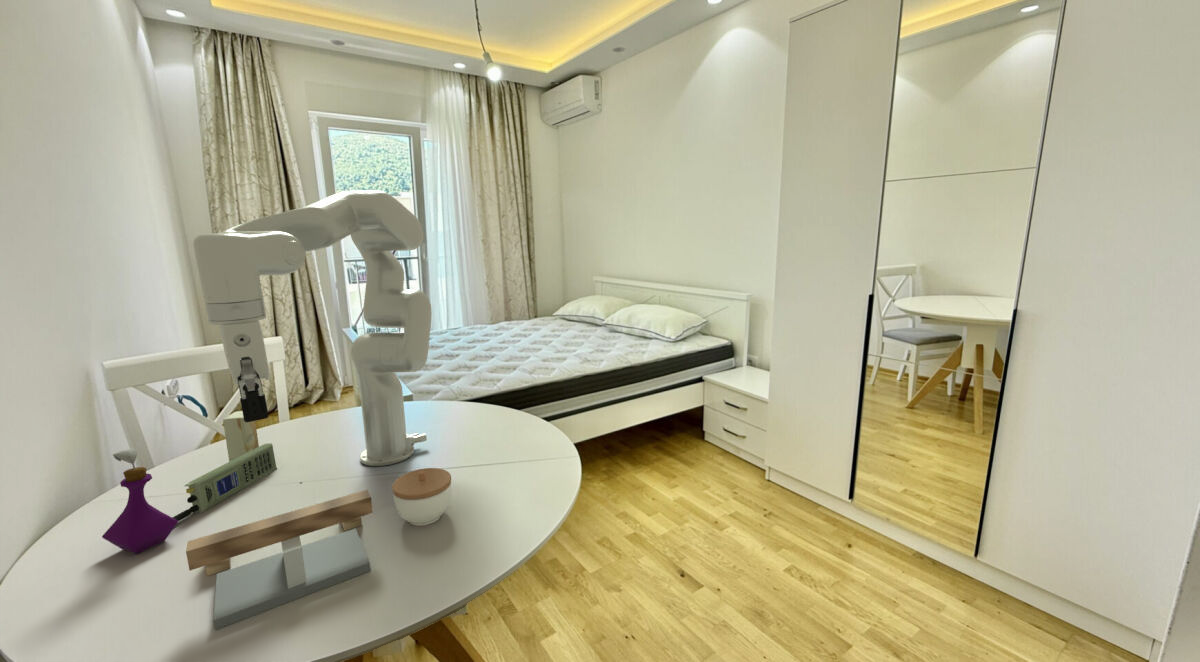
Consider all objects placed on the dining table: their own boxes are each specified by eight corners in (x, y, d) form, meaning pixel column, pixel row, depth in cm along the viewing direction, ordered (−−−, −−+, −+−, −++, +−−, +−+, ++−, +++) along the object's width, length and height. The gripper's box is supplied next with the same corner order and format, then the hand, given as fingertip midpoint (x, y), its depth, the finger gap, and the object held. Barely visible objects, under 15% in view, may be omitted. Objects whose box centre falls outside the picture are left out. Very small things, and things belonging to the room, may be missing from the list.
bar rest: (356, 513, 95) (354, 495, 94) (362, 525, 91) (359, 506, 90) (208, 559, 81) (205, 538, 81) (207, 575, 77) (203, 553, 77)
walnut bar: (369, 505, 84) (367, 489, 83) (372, 512, 81) (371, 496, 81) (191, 559, 70) (187, 541, 69) (189, 570, 67) (185, 551, 67)
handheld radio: (279, 469, 115) (177, 530, 90) (267, 469, 115) (162, 529, 91) (275, 443, 114) (170, 497, 89) (262, 443, 114) (154, 497, 90)
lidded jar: (398, 539, 86) (393, 491, 85) (393, 510, 96) (389, 467, 94) (458, 523, 91) (455, 477, 89) (448, 497, 101) (445, 455, 99)
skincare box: (249, 465, 116) (242, 418, 114) (229, 467, 115) (221, 419, 113) (261, 454, 122) (254, 409, 120) (242, 456, 121) (234, 410, 119)
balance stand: (356, 535, 88) (352, 498, 86) (370, 570, 78) (366, 529, 77) (218, 582, 76) (210, 539, 74) (215, 629, 66) (206, 582, 65)
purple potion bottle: (181, 537, 88) (164, 445, 85) (131, 562, 81) (110, 463, 78) (155, 529, 90) (138, 440, 87) (104, 553, 83) (83, 457, 80)
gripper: (269, 315, 72) (286, 421, 76) (261, 302, 86) (276, 392, 89) (205, 322, 68) (227, 433, 72) (208, 307, 81) (226, 402, 85)
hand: (255, 410), depth 80 cm, fingers open, 9 cm apart
